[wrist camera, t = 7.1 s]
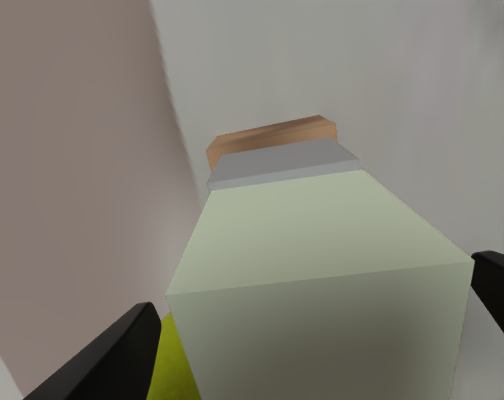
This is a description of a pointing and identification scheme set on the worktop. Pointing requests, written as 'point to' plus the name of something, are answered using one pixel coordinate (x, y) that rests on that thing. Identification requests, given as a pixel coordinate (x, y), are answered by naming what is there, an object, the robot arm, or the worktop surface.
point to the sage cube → (319, 294)
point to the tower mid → (281, 164)
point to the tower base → (271, 137)
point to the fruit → (172, 368)
